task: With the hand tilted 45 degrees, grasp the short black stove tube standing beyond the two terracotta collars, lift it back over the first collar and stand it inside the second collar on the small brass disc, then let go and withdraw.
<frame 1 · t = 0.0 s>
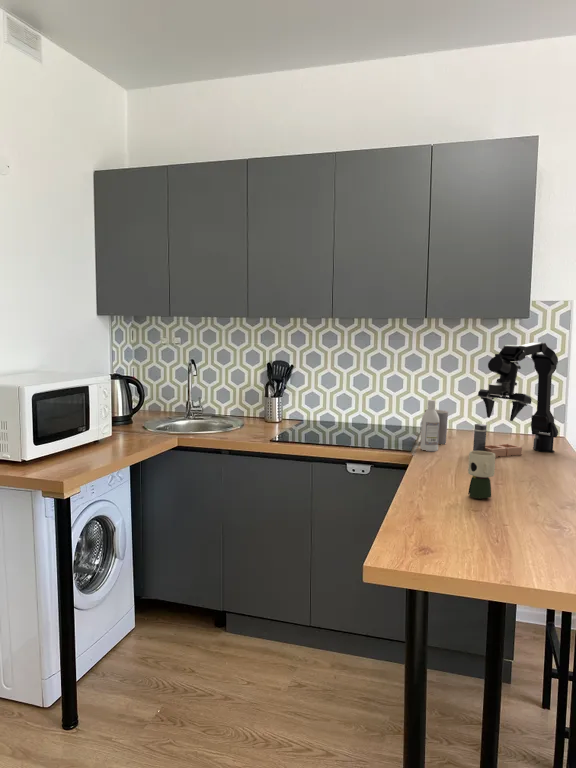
hand: (499, 419, 220), 15 cm above the countertop, tool pointing down, fingers open, 9 cm apart
stove tube: (478, 455, 229), on the countertop
bath foam: (429, 450, 237), on the countertop
character mug: (479, 498, 170), on the countertop
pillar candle: (434, 443, 253), on the countertop
collar A: (491, 454, 232), on the countertop
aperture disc: (507, 453, 235), resting in collar B
collar B: (507, 453, 235), on the countertop
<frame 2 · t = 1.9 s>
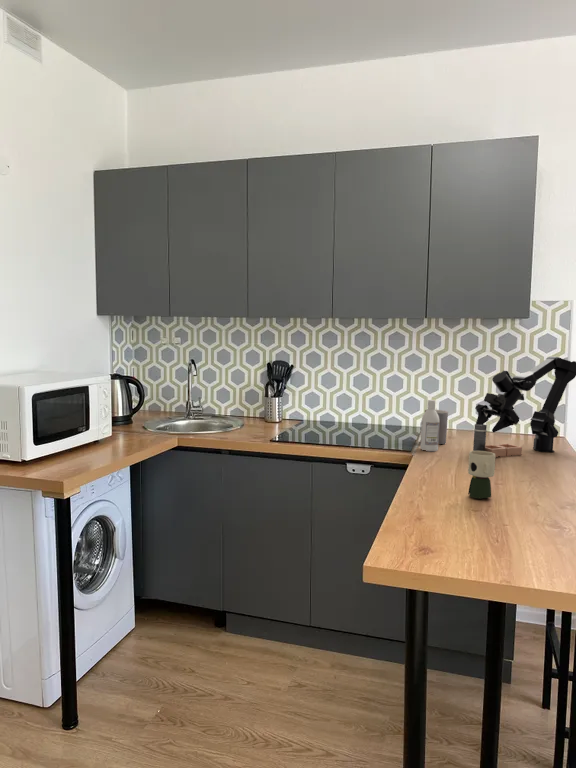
hand: (484, 429, 229), 10 cm above the countertop, tool tilted 45°, fingers open, 9 cm apart
nothing on the countertop moved.
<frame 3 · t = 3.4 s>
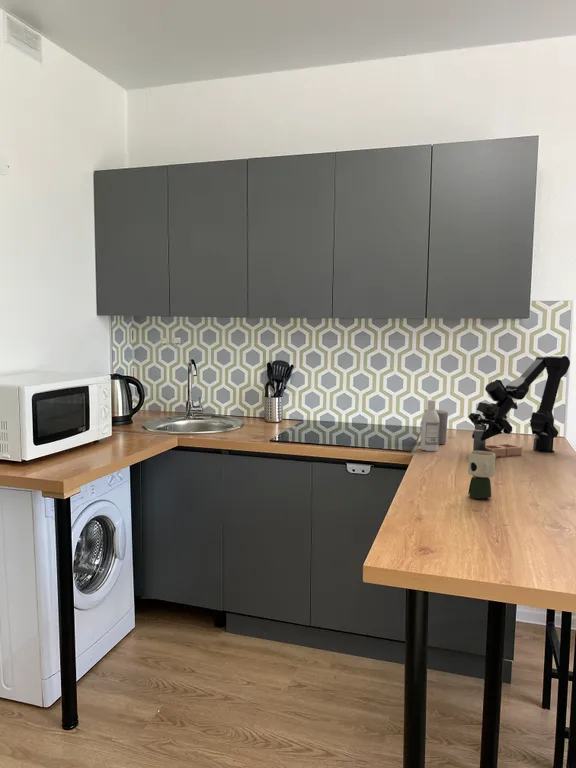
hand: (476, 438, 228), 7 cm above the countertop, tool tilted 45°, fingers closed on stove tube, 4 cm apart
stove tube: (478, 455, 229), on the countertop, touching gripper
everything else where it was.
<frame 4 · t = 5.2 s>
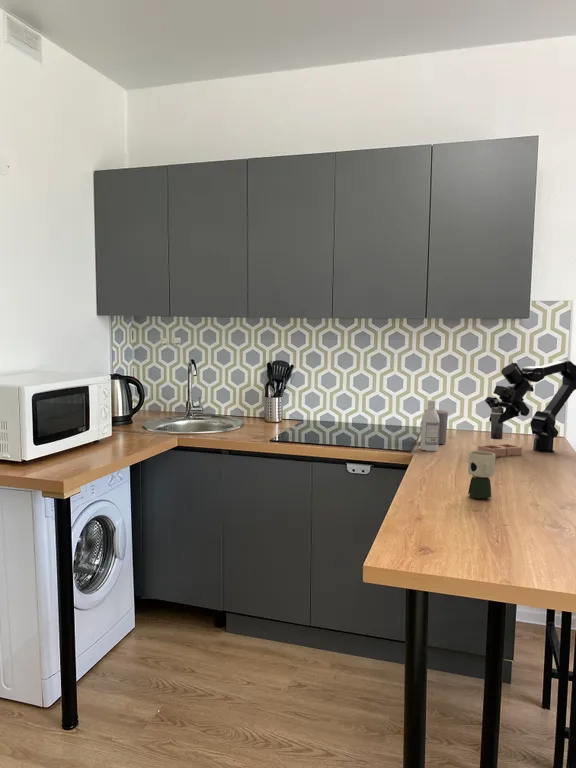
hand: (494, 421, 231), 13 cm above the countertop, tool tilted 45°, fingers closed on stove tube, 4 cm apart
stove tube: (496, 438, 232), point 6 cm above the countertop, touching gripper
everything else where it was.
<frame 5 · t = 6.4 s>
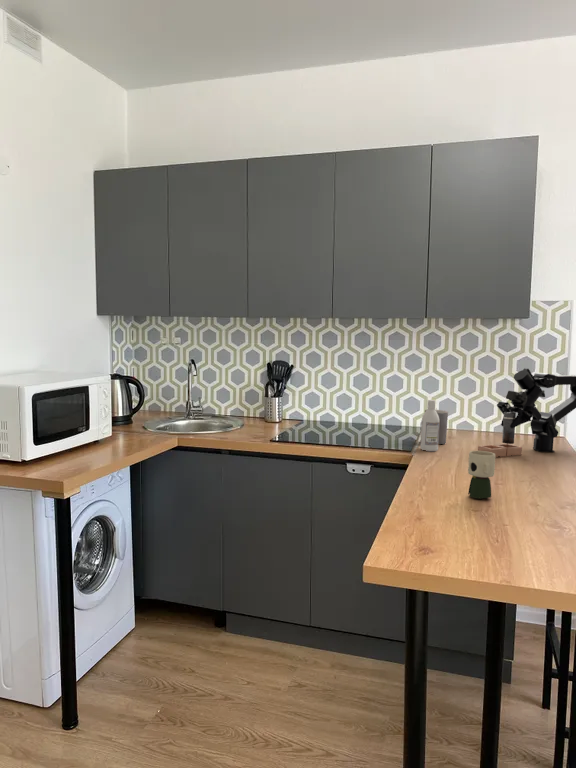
hand: (506, 426, 233), 11 cm above the countertop, tool tilted 45°, fingers closed on stove tube, 4 cm apart
stove tube: (508, 442, 235), point 4 cm above the countertop, touching gripper
everything else where it was.
when the fingers open (8 cm above the countertop, at t = 7.4 s): stove tube drops 1 cm, resting on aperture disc.
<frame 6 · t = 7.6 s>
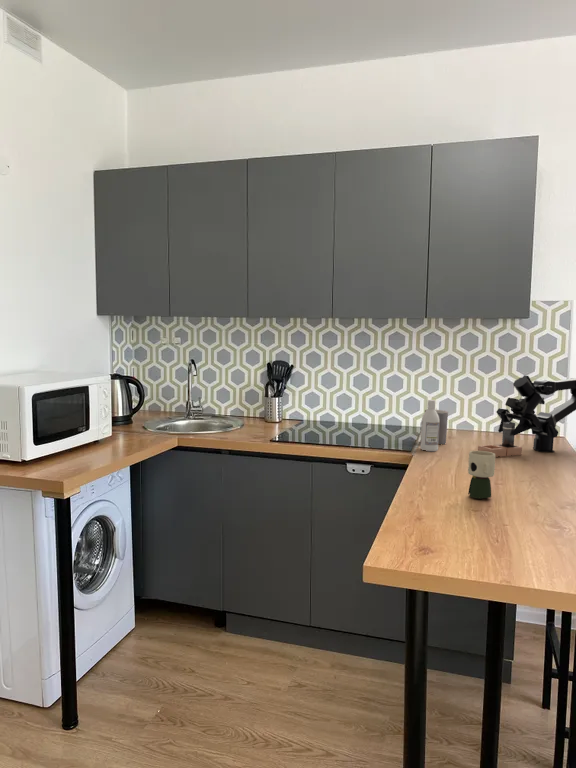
hand: (505, 433, 234), 8 cm above the countertop, tool tilted 45°, fingers open, 7 cm apart
stove tube: (507, 452, 235), resting on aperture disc
everything else where it was.
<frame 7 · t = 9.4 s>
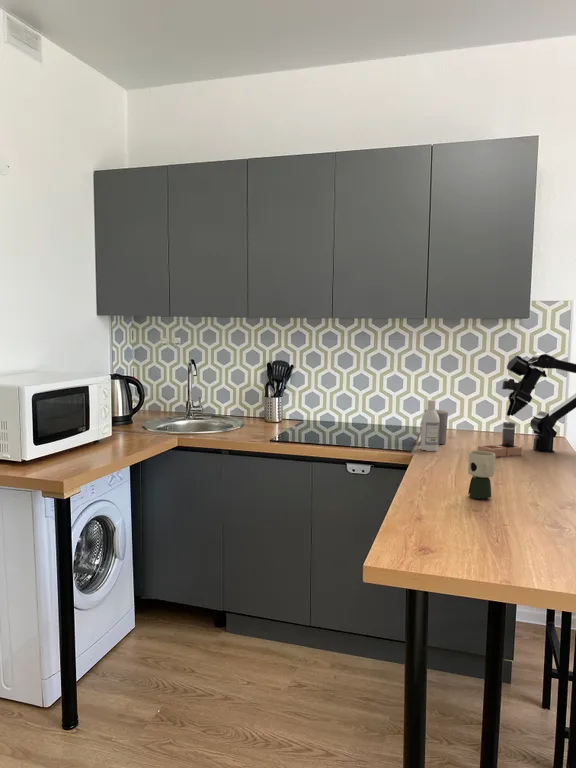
hand: (509, 415, 241), 14 cm above the countertop, tool tilted 25°, fingers open, 9 cm apart
nothing on the countertop moved.
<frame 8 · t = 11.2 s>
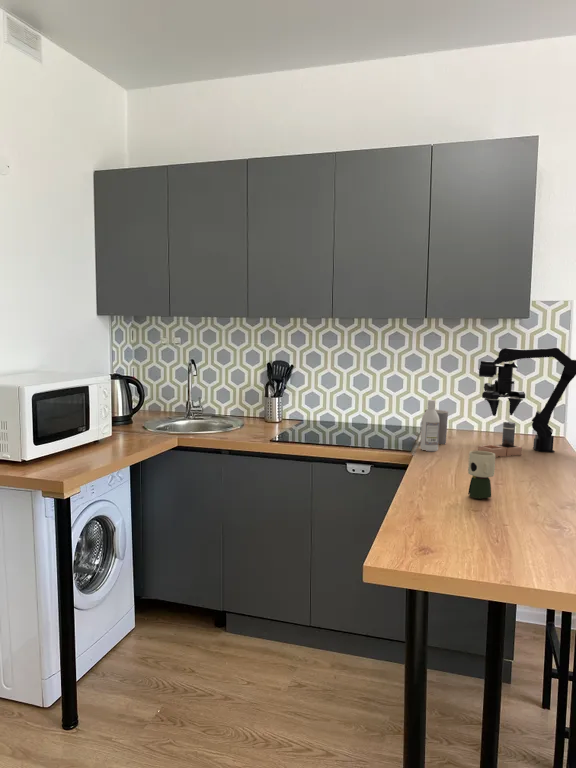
hand: (502, 415, 249), 13 cm above the countertop, tool pointing down, fingers open, 9 cm apart
nothing on the countertop moved.
at the end: stove tube 0.1 cm off-centre on the collar B, point 0.2 cm above the collar B's base; stove tube tilted 0°; the gripper is holding nothing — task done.
